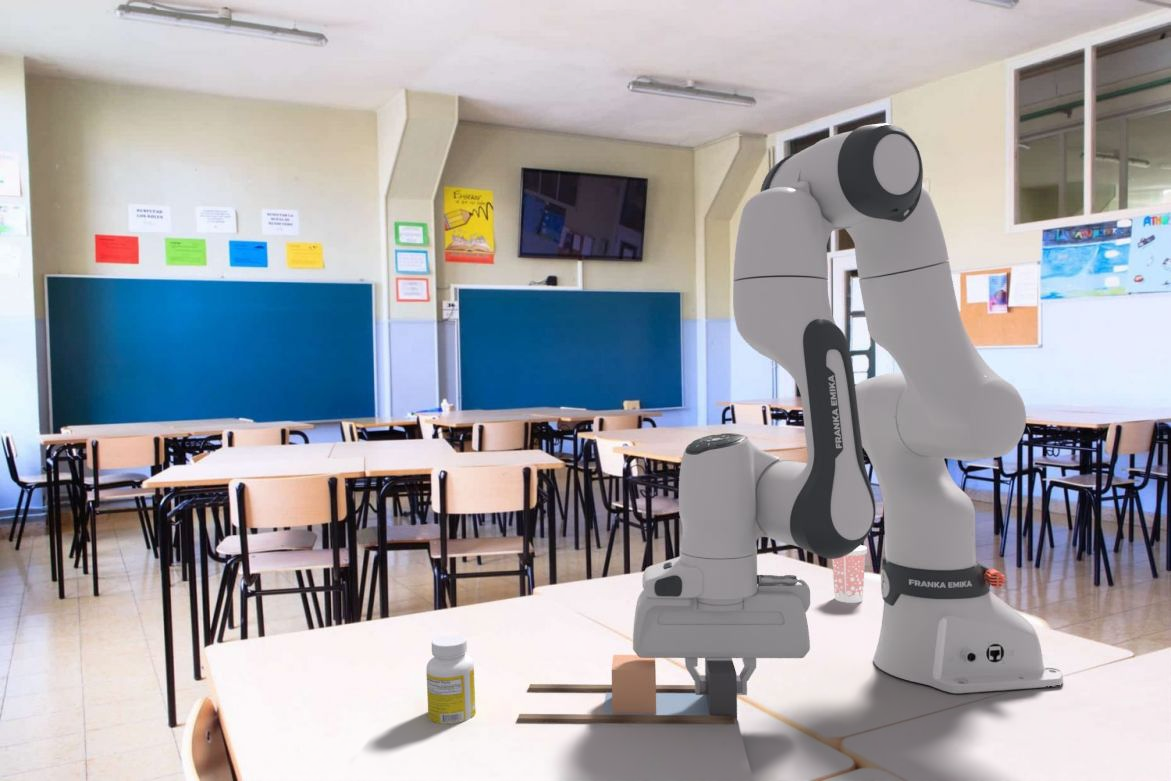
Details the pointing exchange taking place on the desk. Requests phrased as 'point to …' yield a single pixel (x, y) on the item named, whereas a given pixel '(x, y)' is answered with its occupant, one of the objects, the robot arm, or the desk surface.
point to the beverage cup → (849, 576)
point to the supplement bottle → (450, 681)
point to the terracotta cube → (633, 684)
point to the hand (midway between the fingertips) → (720, 693)
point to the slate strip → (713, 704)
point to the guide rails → (618, 718)
